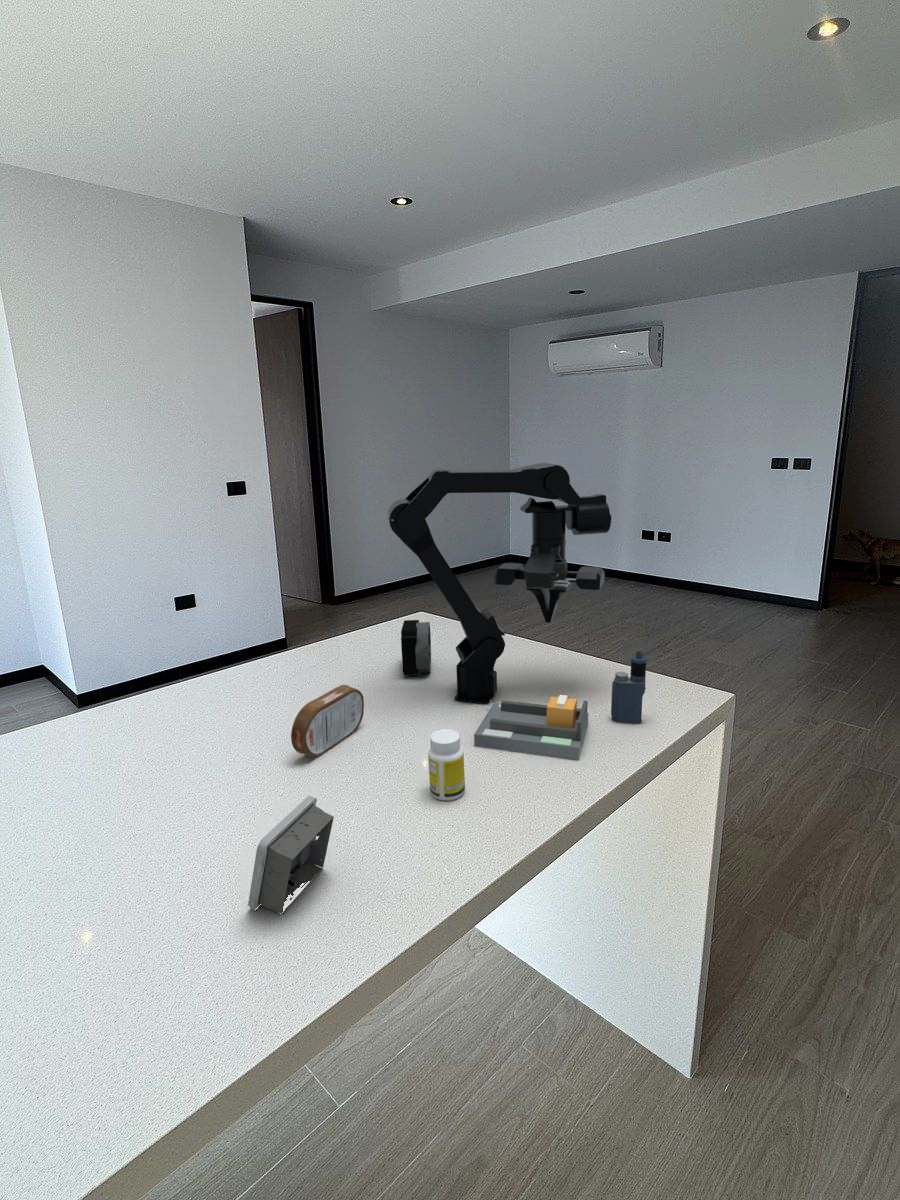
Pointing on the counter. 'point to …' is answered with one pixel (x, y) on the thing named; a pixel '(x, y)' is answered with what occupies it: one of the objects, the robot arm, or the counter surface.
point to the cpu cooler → (416, 647)
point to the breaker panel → (530, 730)
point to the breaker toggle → (562, 711)
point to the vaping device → (629, 692)
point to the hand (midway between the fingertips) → (548, 622)
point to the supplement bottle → (446, 765)
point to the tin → (327, 720)
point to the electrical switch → (290, 855)
